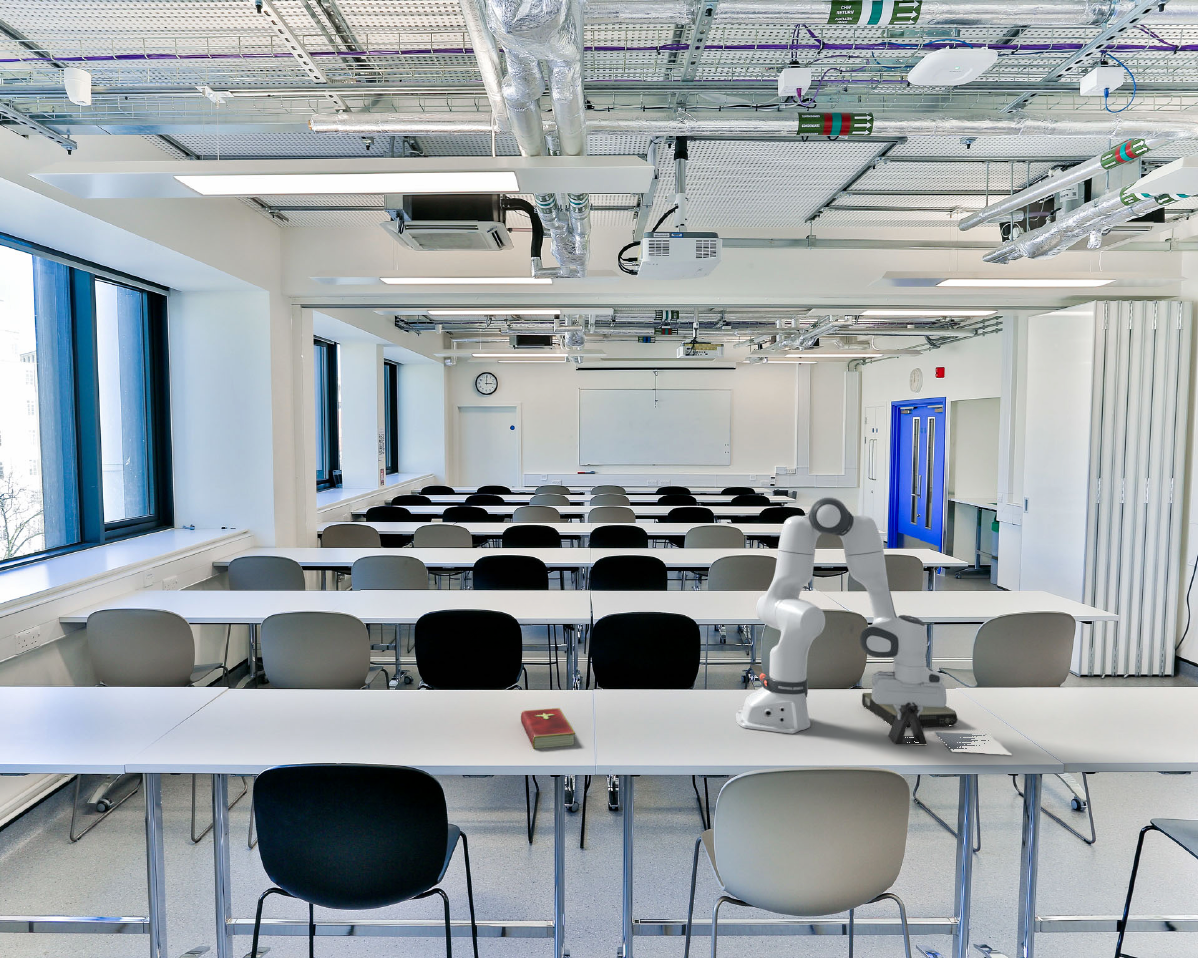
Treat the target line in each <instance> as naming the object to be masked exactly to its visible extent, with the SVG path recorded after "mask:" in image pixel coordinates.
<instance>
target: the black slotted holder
mask: <svg viewBox="0 0 1198 958" xmlns="http://www.w3.org/2000/svg"><path fill="white" fill-rule="evenodd" d="M912 704H913V705H915V704H914V703H913V702H912ZM909 705H911V703H909V702H908V703H907V704H906V705H901V708H900V709H899V710H900V712H901V713H902V714H903V716H902V718H901V720H898V718H897V715H896V717H895V720H894V722H893V725H892V726H891V727H890V730H889V733H888V737H889V738H890V740H891V741H892V742H893V743H894V744H895V745H896V744H927V745H928V742H927V739H926V737H925V733H924V731H923V726H921V724H920V721H919V719H918V716H917V706H916V705H915V706H909ZM908 720H909V721H910V725H911V727H910V728H911V729H910V730H911V733H912V735H905V733H906V730H907V728H908V727H907V724H908ZM906 727H907V728H906ZM905 737H906V738H905ZM907 737H908V738H907ZM909 737H914V738H909ZM914 741H915V742H919V743H915V742H914ZM907 742H908V743H907ZM909 742H910V743H909Z"/></svg>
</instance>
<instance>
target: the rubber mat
mask: <svg viewBox="0 0 1198 958" xmlns="http://www.w3.org/2000/svg"><path fill="white" fill-rule="evenodd" d="M935 733H936V734H937V736H938V737H940V739H942V741H943V742H945V744H947V746H948V747H950V749H953V750H954V749H964V748H962V746H975V745H967V744H971V743H962V742H972V741H974V742H975V741H978V740H971V739H975V738H963V737H972V736H973V737H974V736H976V737H977V736H982V735H972V734H973V733H966V732H965V733H963V732H946V731H941V732H940V731H934V734H935ZM985 735H986V734H985ZM985 735H983V736H985ZM937 736H936V737H937ZM938 737H937V738H938ZM960 737H961V738H960ZM940 739H939V740H940ZM942 741H941V742H942ZM981 741H986V740H981ZM988 741H989V740H988ZM943 742H942V743H943ZM957 742H958V743H957ZM959 742H961V743H959ZM945 744H944V745H945ZM964 744H965V745H964ZM984 744H985V743H984ZM947 746H946V747H947ZM960 746H961V748H959V747H960ZM976 746H977V745H976ZM979 746H980V745H979ZM957 747H958V748H957ZM965 749H967V748H965Z"/></svg>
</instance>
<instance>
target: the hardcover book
mask: <svg viewBox="0 0 1198 958" xmlns="http://www.w3.org/2000/svg"><path fill="white" fill-rule="evenodd" d="M520 722H521V724H522V727H523V729H524V731H525V733H526V736H527V737H528V740H529V742H530V744H531V746H532V749H533V750H535V749H540V748H541V749H542V748H543V749H545V748H554V747H565V746H574V744H575V743H574V740H575V739H574V737H575V735H576V732H575V731H574V729H573V727H572V725H571V724H570V722H569V721H568V719H567V718H566V716H565V714H564V713H563V711H562V710H561V708H560V707H552V708H544V709H543V708H541V709H529V710H527V709H526V710H521V712H520Z"/></svg>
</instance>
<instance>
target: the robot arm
mask: <svg viewBox="0 0 1198 958" xmlns="http://www.w3.org/2000/svg"><path fill="white" fill-rule="evenodd" d="M822 534H825V535H833V536H838V537H839V538H840V539H841V542H842V546H843V551H844V559H845V563H846V567H847V569H848V573H849V574H850V577H852V579H853V580H855V581H856V582H858V583H860V584H861V585H862V586H863V587H864V588H865V589H866V592H867V593H868V598H869V601H870V605H871V606H870V607H871V610H872V615H873V621H872V624H870V625H869V626H866V628H865V629H863V630H862V632H861V633H860V636H859V644H860V646H861V648H862V650H863V651H864V652H865V654H867V655H868V656H870V657H873V658H881V659H882V658H883V659H884V658H892V659H893V665H892V668H893V669H892V670H893V671H883V670H878V671H877V672H875V673H873V674H872V677H871V684H872V689H871V693H872V699H873V701H874V702H875V703H876V704H889V705H894V707H895V709H896V711H897V718H898V720H901V718H902V716H903V714H902V713H901V712H900V710H899V709H900V708H901V705H906V704H907V703H908V702H909V703H911V705H909V706H915V705H916V706H917V716H918V715H920V713H921V712H922V710H923V706H926V707H944V706H947V689H946V686H945V685H944V684H943V683H944V680H945V679H944V678H945V677H944V676H943V674H941V673H940V672H939V671H937V670H935V669H934V668H931V667H927V659H926V654H927V650H928V636H927V635H928V634H927V633H928V631H927V625H926V624H925V623H924V621H922V620H921V619H920V618H918V617H916V616H911V615H906V614H902V615H898V616H897V614H896V611H895V607H894V602H893V598H892V593H891V588H890V586H889V581H888V574H887V565H886V559H885V551H884V545H883V542H882V538H881V534H880V532H879V529H878V527H877V524H876V521H875V520H874V519H873V518H872V517H869V516H865V515H853V514H852V513H851V512H850V511H849V510H848V508H847V507H846V505H845V504H844V502H842V501H841V500H840V499H838V498H836V497H833V496H824V497H821V498H819V499H817V500H815V501H814V503H813V504H812V506H811V508H810V510H809V511H808V512H807V514H806V515H792V516H790V517H788V518H786V520H784V522H783V525H782V528H781V531H780V536H779V541H778V547H777V553H776V555H777V557H776V563H775V570H774V574H773V579H772V581H771V583H770V585H769V588H767V590H766V592H765V593H764V594H763V595H761V596H760V597H759V598H758V600H757V602H756V606H755V613H756V616H757V617H758V619H759V620H760V621H761V622H762V623H764V624H765V625H766V626H768V627H770V628H772V629H775V630H778V631H780V637H779V641H778V643H777V644H776V645H775V646H773V647H772V648H771V650H770V652H769V674H768V675H766V674H765V673H760V675H759V679H760V681H761V683H762V687H760V688H758V689H757V690H756V691H754V692H752V693H750V694H749V695H747V696H746V698H745V700H744V703H743V708H742V709H739V710H738V711H737V712H736V713H735V720H736V721H735V722H737V724H738V725H739V726H741V727H742V728H743V729H751V730H758V731H759V730H760V731H765V732H767V731H768V732H776V733H783V734H796V733H797V732H799V731H804V730H806V729H809V728H810V727H811V724H812V723H811V721H810V716H809V711H808V702H807V701H808V700H807V697H808V693H809V683H808V682H809V681H808V678H807V668H808V657H809V655H808V654H809V650H810V647H811V645H812V643H813V641H814V640H815V639H816V637H819V636H820V635H821V634H822V633H823V631H824V629H825V626H826V617H825V613H824V611H823V610H822V609H821V608H819V606H817V605H816V604H814V603H812V602H810V601H808V600H805V599H804V600H803V599H801V598H800V594H801V591H802V589H803V588H804V586H806V585H807V584H809V583H810V582H811V581H812V579H813V576H814V575H813V574H814V573H813V572H814V565H815V557H816V556H815V555H816V546H817V540H818V539H819V537H820V535H822ZM912 702H913V703H914V704H915V705H913V704H912Z"/></svg>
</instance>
